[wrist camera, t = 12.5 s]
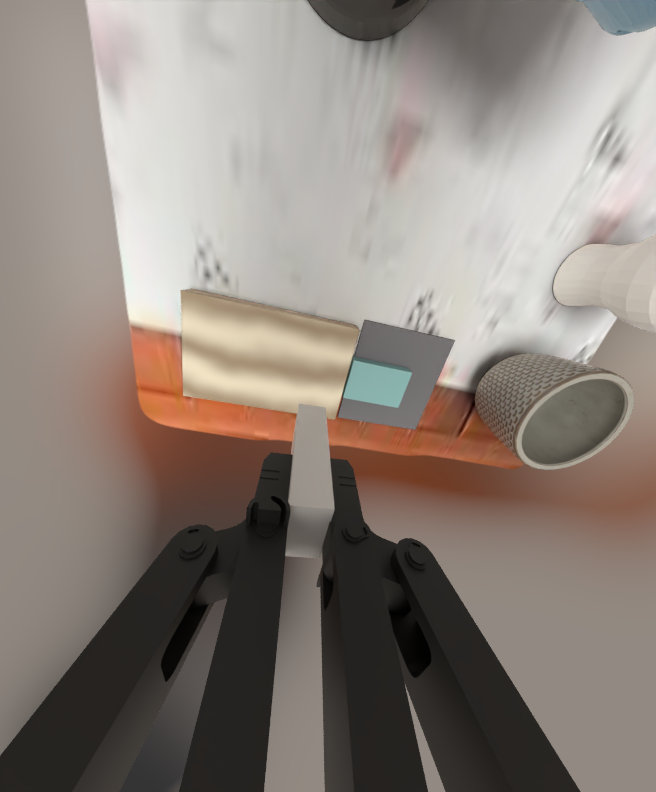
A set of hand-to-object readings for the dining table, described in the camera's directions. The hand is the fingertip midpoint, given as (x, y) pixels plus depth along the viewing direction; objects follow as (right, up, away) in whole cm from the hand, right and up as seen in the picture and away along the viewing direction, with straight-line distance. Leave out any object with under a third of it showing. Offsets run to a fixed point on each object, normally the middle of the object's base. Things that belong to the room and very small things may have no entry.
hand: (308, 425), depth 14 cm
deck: (-7, +7, +22) cm, 25 cm away
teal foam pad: (+8, +4, +25) cm, 27 cm away
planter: (+30, +4, +27) cm, 40 cm away
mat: (+11, +4, +26) cm, 28 cm away
